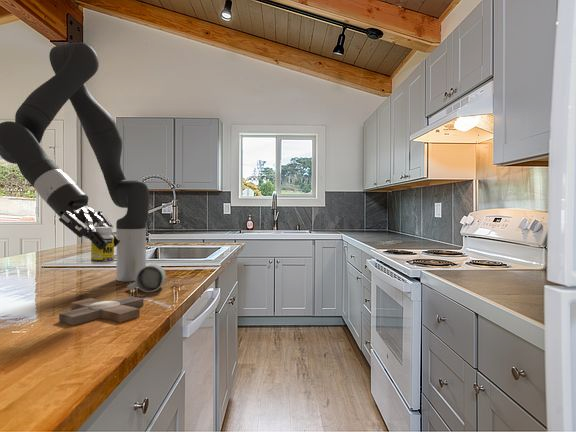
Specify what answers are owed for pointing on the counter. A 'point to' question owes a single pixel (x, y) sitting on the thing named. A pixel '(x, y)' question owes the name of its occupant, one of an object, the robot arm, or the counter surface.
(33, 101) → the robot arm
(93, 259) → the supplement bottle
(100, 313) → the walnut cross joint
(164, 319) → the counter surface
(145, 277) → the ceramic mug
